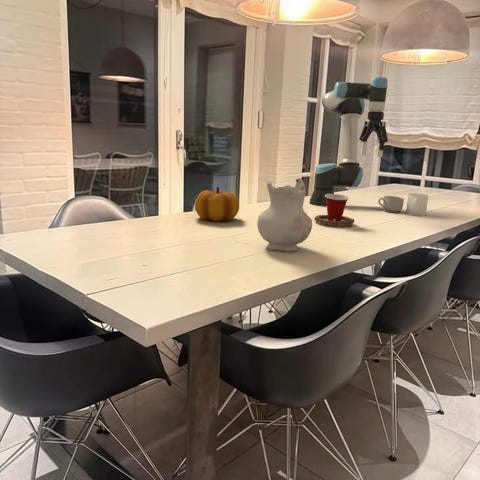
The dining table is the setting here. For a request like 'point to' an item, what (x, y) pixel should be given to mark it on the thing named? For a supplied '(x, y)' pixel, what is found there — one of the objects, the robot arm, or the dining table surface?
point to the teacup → (392, 203)
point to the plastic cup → (335, 206)
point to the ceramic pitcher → (285, 218)
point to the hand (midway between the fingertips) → (371, 156)
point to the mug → (417, 204)
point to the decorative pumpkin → (217, 205)
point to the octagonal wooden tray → (334, 222)
